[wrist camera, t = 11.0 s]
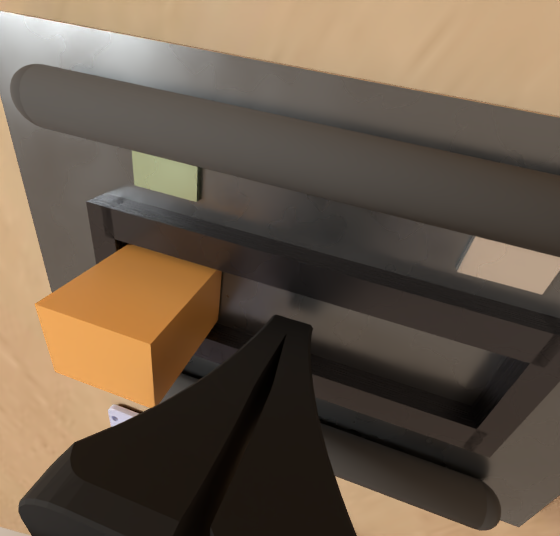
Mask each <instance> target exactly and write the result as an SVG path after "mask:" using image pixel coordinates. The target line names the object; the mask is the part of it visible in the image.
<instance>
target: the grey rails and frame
mask: <svg viewBox="0 0 560 536" xmlns="http://www.w3.org/2000/svg"><path fill="white" fill-rule="evenodd" d="M10 93H11V98H12V101H13V103H14V105H15V107H16V108H17V110H18V111H19V112H20V113H21V114H22V115H23V116H24V117H25V118H26V119H27V120H28V121H30V122H31V123H33V124H35V125H37V126H39V127H42V128H45V129H49V130H53V131H57V132H61V133H65V134H69V135H73V136H77V137H81V138H85V139H89V140H93V141H97V142H101V143H105V144H109V145H113V146H117V147H121V148H125V149H128V150H132V151H136V152H140V153H144V154H148V155H152V156H156V157H160V158H164V159H168V160H172V161H176V162H180V163H184V164H188V165H192V166H196V167H200V168H204V169H208V170H212V171H216V172H220V173H224V174H228V175H232V176H236V177H240V178H244V179H248V180H252V181H256V182H260V183H264V184H268V185H272V186H276V187H280V188H284V189H288V190H292V191H296V192H300V193H304V194H308V195H312V196H316V197H320V198H324V199H328V200H332V201H336V202H340V203H344V204H348V205H352V206H356V207H360V208H364V209H368V210H372V211H376V212H380V213H384V214H388V215H392V216H396V217H400V218H404V219H408V220H412V221H416V222H420V223H424V224H428V225H432V226H436V227H440V228H444V229H448V230H452V231H456V232H460V233H464V234H468V235H472V236H476V237H480V238H484V239H488V240H492V241H496V242H500V243H504V244H508V245H512V246H516V247H520V248H524V249H528V250H532V251H536V252H540V253H544V254H548V255H552V256H556V257H560V176H559V175H555V174H550V173H546V172H541V171H536V170H532V169H527V168H522V167H518V166H513V165H508V164H504V163H499V162H494V161H490V160H485V159H481V158H476V157H471V156H467V155H462V154H457V153H453V152H448V151H443V150H439V149H434V148H429V147H425V146H420V145H416V144H411V143H406V142H402V141H397V140H392V139H388V138H383V137H378V136H374V135H369V134H364V133H360V132H355V131H350V130H346V129H341V128H337V127H332V126H327V125H323V124H318V123H313V122H309V121H304V120H299V119H295V118H290V117H285V116H281V115H276V114H272V113H267V112H262V111H258V110H253V109H248V108H244V107H239V106H234V105H230V104H225V103H220V102H216V101H211V100H207V99H202V98H197V97H193V96H188V95H183V94H179V93H174V92H169V91H165V90H160V89H155V88H151V87H146V86H142V85H137V84H132V83H128V82H123V81H118V80H114V79H109V78H104V77H100V76H95V75H90V74H86V73H81V72H77V71H72V70H67V69H63V68H58V67H53V66H49V65H44V64H30V65H26V66H24V67H22V68H20V69H19V70H18V71H16V72H15V74H14V75H13V77H12V79H11V83H10ZM198 380H199V379H196V378H193V377H191V376H188V375H185V374H182V373H180V375H179V376H178V378H177V379H176V381H175V382H174V383H173V385H172V386H171V388H170V389H169V391H168V392H167V393H166V395H165V396H164V398H163V399H162V401H161V402H160V403H162V402H163V401H165V400H167V399H169V398H170V397H172V396H174V395H176V394H177V393H179V392H180V391H182V390H184V389H185V388H187V387H189V386H190V385H192V384H193V383H195V382H196V381H198ZM160 403H159V404H160ZM320 425H321V429H322V433H323V437H324V441H325V445H326V449H327V452H328V456H329V459H330V462H331V465H332V468H333V471H334V475H335V476H337V477H339V478H342V479H344V480H347V481H350V482H352V483H355V484H358V485H360V486H363V487H366V488H368V489H371V490H373V491H376V492H379V493H381V494H384V495H387V496H389V497H392V498H395V499H397V500H400V501H402V502H405V503H408V504H410V505H413V506H416V507H418V508H421V509H424V510H426V511H429V512H431V513H434V514H437V515H439V516H442V517H445V518H447V519H450V520H452V521H455V522H458V523H460V524H463V525H466V526H468V527H471V528H474V529H477V530H490V529H492V528H494V527H495V526H496V525H497V524H498V522H499V521H500V518H501V505H500V502H499V499H498V497H497V495H496V494H495V492H494V491H493V490H492V489H491V488H490V487H489V486H488V485H487V484H486V483H484V482H483V481H481V480H479V479H476V478H473V477H471V476H468V475H465V474H462V473H459V472H457V471H454V470H451V469H448V468H445V467H443V466H440V465H437V464H434V463H431V462H429V461H426V460H423V459H420V458H417V457H415V456H412V455H409V454H406V453H403V452H401V451H398V450H395V449H392V448H389V447H387V446H384V445H381V444H378V443H375V442H373V441H370V440H367V439H364V438H361V437H359V436H356V435H353V434H350V433H347V432H345V431H342V430H339V429H336V428H333V427H331V426H328V425H325V424H322V423H320Z"/></svg>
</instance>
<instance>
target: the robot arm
mask: <svg viewBox="0 0 560 536" xmlns="http://www.w3.org/2000/svg"><path fill="white" fill-rule="evenodd" d="M312 331H313V328H312V326H311V325H310V324H306V323H303V322H300V321H296V320H293V319H290V318H287V317H283V316H280V315H277V314H276V315H273V316H272V317H271V318H270V320H269V321H268V322H267V323H266V324H265V325H264V326H263V327H262V328H261V329H260V330H259V331H258V332H257V333H256V334H255V335H254V336H253V337H252V338H251V339H250V340H249V341H248V342H247V343H246V344H244V345H243V346H242V347H241V348H240V349H239V350H238V351H237V352H235V353H234V354H233V355H232V356H230V357H229V358H228V359H227V360H225V361H224V362H223V363H222V364H220V365H219V366H218V367H216V368H215V369H214V370H212V371H211V372H210V373H208V374H207V375H205V376H204V377H202V378H201V379H199V380H198V381H196V382H195V383H193V384H192V385H190V386H189V387H187V388H185V389H184V390H182V391H180V392H179V393H177V394H176V395H174V396H172V397H170V398H169V399H167V400H165V401H163V402H162V403H160V404H158V405H156V406H154V407H152V408H150V409H148V410H146V411H144V412H142V413H140V414H139V413H136V412H134V411H131V410H129V409H126V408H124V407H121V406H118V405H112V406H111V407H110V408H109V409H108V413H109V418H110V423H111V427H110V428H108V429H105V430H103V431H101V432H98V433H96V434H93V435H91V436H89V437H86V438H84V439H81V440H79V441H77V442H74V443H73V444H72V445H71V446H70V447H69V448H68V449H67V450H66V451H65V452H64V453H63V454H62V455H61V456H60V457H59V458H58V459H57V460H56V461H55V462H54V463H53V464H52V465H51V466H50V467H49V468H48V469H47V470H46V472H45V473H44V474H43V475H42V476H41V477H40V479H39V480H38V481H37V482H36V483H35V484H34V485H33V487H32V488H31V489H30V490H29V491H28V492H27V493H26V495H25V496H24V497H23V498H22V499H21V500H20V503H19V514H20V516H21V519H22V520H23V522H24V524H25V525H26V527H27V528H28V530H29V532H30V533H31V535H32V536H357V535H356V533H355V530H354V527H353V525H352V522H351V520H350V517H349V515H348V512H347V509H346V507H345V504H344V501H343V498H342V496H341V493H340V490H339V487H338V484H337V481H336V478H335V475H334V471H333V468H332V465H331V462H330V459H329V456H328V452H327V449H326V445H325V441H324V437H323V433H322V429H321V425H320V420H319V416H318V411H317V405H316V399H315V393H314V386H313V378H312V367H311V337H312Z"/></svg>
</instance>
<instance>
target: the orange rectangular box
mask: <svg viewBox="0 0 560 536" xmlns="http://www.w3.org/2000/svg"><path fill="white" fill-rule="evenodd" d="M221 276H222V271H219V270H216V269H213V268H209V267H206V266H203V265H199V264H196V263H193V262H189V261H186V260H182V259H179V258H176V257H172V256H169V255H166V254H162V253H159V252H156V251H152V250H149V249H146V248H142V247H139V246H136V245H132V244H128V245H126V246H124V247H123V248H121V249H120V250H118V251H117V252H115V253H114V254H112V255H110V256H109V257H107V258H106V259H104V260H103V261H101V262H100V263H98V264H96V265H95V266H93V267H92V268H90V269H89V270H87V271H85V272H84V273H82V274H81V275H79V276H78V277H76V278H75V279H73V280H71V281H70V282H68V283H67V284H65V285H64V286H62V287H61V288H59V289H57V290H56V291H54V292H53V293H51V294H50V295H48V296H47V297H45V298H43V299H42V300H40V301H39V302H37V303H36V304H35V307H36V310H37V313H38V317H39V320H40V323H41V327H42V330H43V333H44V337H45V340H46V343H47V346H48V350H49V353H50V356H51V360H52V363H53V366H54V370H55V372H57V373H60V374H62V375H65V376H68V377H70V378H73V379H76V380H78V381H81V382H83V383H86V384H89V385H91V386H94V387H97V388H99V389H102V390H104V391H107V392H110V393H112V394H115V395H118V396H120V397H123V398H125V399H128V400H131V401H133V402H136V403H139V404H141V405H144V406H147V407H149V408H152V407H154V406H156V405H158V404H159V403H160V402H161V401H162V399H163V398H164V396H165V395H166V393H167V392H168V391H169V389H170V388H171V386H172V385H173V383H174V382H175V381H176V379H177V378H178V376H179V375H180V373H181V372H182V371H183V369H184V368H185V366H186V365H187V363H188V362H189V361H190V359H191V358H192V356H193V355H194V354H195V352H196V351H197V349H198V348H199V346H200V345H201V344H202V342H203V341H204V339H205V338H206V336H207V335H208V334H209V332H210V331H211V329H212V328H213V326H214V325H215V324H216V322H217V321H218V315H219V302H220V289H221Z"/></svg>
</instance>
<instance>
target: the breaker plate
mask: <svg viewBox="0 0 560 536" xmlns="http://www.w3.org/2000/svg"><path fill="white" fill-rule="evenodd" d="M30 64H44V65H49V66H53V67H58V68H63V69H67V70H72V71H77V72H81V73H86V74H90V75H95V76H100V77H104V78H109V79H114V80H118V81H123V82H128V83H132V84H137V85H142V86H146V87H151V88H155V89H160V90H165V91H169V92H174V93H179V94H183V95H188V96H193V97H197V98H202V99H207V100H211V101H216V102H220V103H225V104H230V105H234V106H239V107H244V108H248V109H253V110H258V111H262V112H267V113H272V114H276V115H281V116H285V117H290V118H295V119H299V120H304V121H309V122H313V123H318V124H323V125H327V126H332V127H337V128H341V129H346V130H350V131H355V132H360V133H364V134H369V135H374V136H378V137H383V138H388V139H392V140H397V141H402V142H406V143H411V144H416V145H420V146H425V147H429V148H434V149H439V150H443V151H448V152H453V153H457V154H462V155H467V156H471V157H476V158H481V159H485V160H490V161H494V162H499V163H504V164H508V165H513V166H518V167H522V168H527V169H532V170H536V171H541V172H546V173H550V174H555V175H559V176H560V117H559V116H554V115H549V114H544V113H538V112H533V111H528V110H522V109H517V108H512V107H507V106H501V105H496V104H491V103H486V102H480V101H475V100H470V99H465V98H459V97H454V96H449V95H444V94H438V93H433V92H428V91H423V90H417V89H412V88H407V87H402V86H396V85H391V84H386V83H381V82H375V81H370V80H365V79H360V78H354V77H349V76H344V75H338V74H333V73H328V72H323V71H317V70H312V69H307V68H302V67H296V66H291V65H286V64H281V63H275V62H270V61H265V60H260V59H254V58H249V57H244V56H239V55H233V54H228V53H223V52H218V51H212V50H207V49H202V48H197V47H191V46H186V45H181V44H176V43H170V42H165V41H160V40H155V39H149V38H144V37H139V36H133V35H128V34H123V33H118V32H112V31H107V30H102V29H97V28H91V27H86V26H81V25H76V24H70V23H65V22H60V21H55V20H49V19H44V18H39V17H34V16H28V15H23V14H17V13H12V12H6V11H0V96H1V100H2V103H3V107H4V111H5V115H6V119H7V122H8V126H9V130H10V134H11V138H12V142H13V145H14V149H15V153H16V157H17V161H18V165H19V168H20V172H21V176H22V180H23V184H24V188H25V191H26V195H27V199H28V203H29V207H30V211H31V214H32V218H33V222H34V226H35V230H36V234H37V237H38V241H39V245H40V249H41V253H42V257H43V260H44V264H45V268H46V272H47V276H48V280H49V283H50V287H51V291H52V293H53V292H54V291H56V290H57V289H59V288H61V287H62V286H64V285H65V284H67V283H68V282H70V281H71V280H73V279H75V278H76V277H78V276H79V275H81V274H82V273H84V272H85V271H87V270H89V269H90V268H92V267H93V266H95V265H96V264H98V263H100V262H101V261H103V260H104V259H106V258H107V257H109V256H110V255H112V254H114V253H115V252H117V251H118V250H120V249H121V248H123V247H124V246H126V245H128V244H132V245H136V246H139V247H142V248H146V249H149V250H152V251H156V252H159V253H162V254H166V255H169V256H172V257H176V258H179V259H182V260H186V261H189V262H193V263H196V264H199V265H203V266H206V267H209V268H213V269H216V270H219V271H222V276H221V289H220V302H219V315H218V321H217V322H216V324H215V325H214V326H213V328H212V329H211V331H210V332H209V334H208V335H207V336H206V338H205V339H204V341H203V342H202V344H201V345H200V346H199V348H198V349H197V351H196V352H195V354H194V355H193V356H192V358H191V359H190V361H189V362H188V363H187V365H186V366H185V368H184V369H183V371H182V372H181V373H182V374H185V375H188V376H191V377H193V378H196V379H201V378H202V377H204V376H205V375H207V374H208V373H210V372H211V371H212V370H214V369H215V368H216V367H218V366H219V365H220V364H222V363H223V362H224V361H225V360H227V359H228V358H229V357H230V356H232V355H233V354H234V353H235V352H237V351H238V350H239V349H240V348H241V347H242V346H243V345H244V344H246V343H247V342H248V341H249V340H250V339H251V338H252V337H253V336H254V335H255V334H256V333H257V332H258V331H259V330H260V329H261V328H262V327H263V326H264V325H265V324H266V323H267V322H268V321H269V320H270V318H271V317H272V316H273V315H276V314H277V315H280V316H283V317H287V318H290V319H293V320H296V321H300V322H303V323H306V324H310V325H311V326H312V328H313V331H312V337H311V367H312V378H313V386H314V393H315V399H316V405H317V411H318V416H319V420H320V423H322V424H325V425H328V426H331V427H333V428H336V429H339V430H342V431H345V432H347V433H350V434H353V435H356V436H359V437H361V438H364V439H367V440H370V441H373V442H375V443H378V444H381V445H384V446H387V447H389V448H392V449H395V450H398V451H401V452H403V453H406V454H409V455H412V456H415V457H417V458H420V459H423V460H426V461H429V462H431V463H434V464H437V465H440V466H443V467H445V468H448V469H451V470H454V471H457V472H459V473H462V474H465V475H468V476H471V477H473V478H476V479H479V480H481V481H483V482H484V483H486V484H487V485H488V486H489V487H490V488H491V489H492V490H493V491H494V492H495V494H496V495H497V497H498V499H499V502H500V505H501V518H500V520H501V521H504V522H506V523H509V524H512V525H514V526H517V527H520V526H521V525H522V524H524V523H525V522H526V521H527V520H529V519H530V518H531V517H533V516H534V515H535V514H536V513H538V512H539V511H540V510H541V509H543V508H544V507H545V506H547V505H548V504H549V503H550V502H552V501H553V500H554V499H556V498H557V497H558V496H559V495H560V257H556V256H552V255H548V254H544V253H540V252H536V251H532V250H528V249H524V248H520V247H516V246H512V245H508V244H504V243H500V242H496V241H492V240H488V239H484V238H480V237H476V236H472V235H468V234H464V233H460V232H456V231H452V230H448V229H444V228H440V227H436V226H432V225H428V224H424V223H420V222H416V221H412V220H408V219H404V218H400V217H396V216H392V215H388V214H384V213H380V212H376V211H372V210H368V209H364V208H360V207H356V206H352V205H348V204H344V203H340V202H336V201H332V200H328V199H324V198H320V197H316V196H312V195H308V194H304V193H300V192H296V191H292V190H288V189H284V188H280V187H276V186H272V185H268V184H264V183H260V182H256V181H252V180H248V179H244V178H240V177H236V176H232V175H228V174H224V173H220V172H216V171H212V170H208V169H204V168H200V167H196V166H192V165H188V164H184V163H180V162H176V161H172V160H168V159H164V158H160V157H156V156H152V155H148V154H144V153H140V152H136V151H132V150H128V149H125V148H121V147H117V146H113V145H109V144H105V143H101V142H97V141H93V140H89V139H85V138H81V137H77V136H73V135H69V134H65V133H61V132H57V131H53V130H49V129H45V128H42V127H39V126H37V125H35V124H33V123H31V122H30V121H28V120H27V119H26V118H25V117H24V116H23V115H22V114H21V113H20V112H19V111H18V110H17V108H16V107H15V105H14V103H13V101H12V98H11V93H10V83H11V79H12V77H13V75H14V74H15V72H16V71H18V70H19V69H20V68H22V67H24V66H26V65H30Z"/></svg>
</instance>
